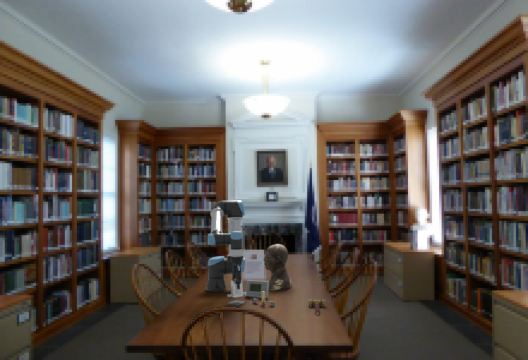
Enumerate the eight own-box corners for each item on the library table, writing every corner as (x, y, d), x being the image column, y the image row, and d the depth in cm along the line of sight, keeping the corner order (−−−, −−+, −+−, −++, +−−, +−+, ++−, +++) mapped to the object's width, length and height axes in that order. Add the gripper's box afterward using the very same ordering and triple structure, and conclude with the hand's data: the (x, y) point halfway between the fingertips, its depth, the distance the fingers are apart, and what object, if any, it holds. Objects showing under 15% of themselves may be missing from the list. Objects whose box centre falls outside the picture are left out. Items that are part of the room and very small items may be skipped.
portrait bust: (292, 280, 310) (291, 241, 311) (290, 290, 275) (289, 247, 277) (266, 279, 312) (265, 241, 314) (261, 290, 277) (260, 246, 279)
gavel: (326, 311, 216) (308, 310, 217) (326, 319, 216) (308, 318, 217) (324, 298, 237) (308, 298, 238) (325, 305, 237) (308, 305, 238)
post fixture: (252, 303, 243) (252, 290, 244) (254, 302, 245) (254, 289, 246) (272, 306, 236) (272, 293, 236) (274, 305, 238) (274, 292, 238)
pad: (227, 303, 242) (227, 302, 242) (235, 300, 249) (235, 300, 249) (238, 305, 238) (238, 304, 238) (245, 302, 245) (245, 301, 245)
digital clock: (243, 296, 260) (243, 280, 260) (251, 293, 267) (251, 278, 268) (264, 300, 251) (264, 283, 252) (271, 296, 259) (271, 280, 259)
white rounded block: (228, 298, 239) (228, 280, 240) (226, 296, 245) (226, 278, 245) (247, 296, 243) (246, 278, 243) (245, 293, 248) (244, 276, 249)
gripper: (246, 257, 237) (246, 295, 236) (238, 253, 255) (238, 289, 254) (234, 258, 235) (234, 297, 234) (227, 254, 253) (227, 290, 252)
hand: (236, 292), depth 244 cm, fingers closed on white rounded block, 6 cm apart
